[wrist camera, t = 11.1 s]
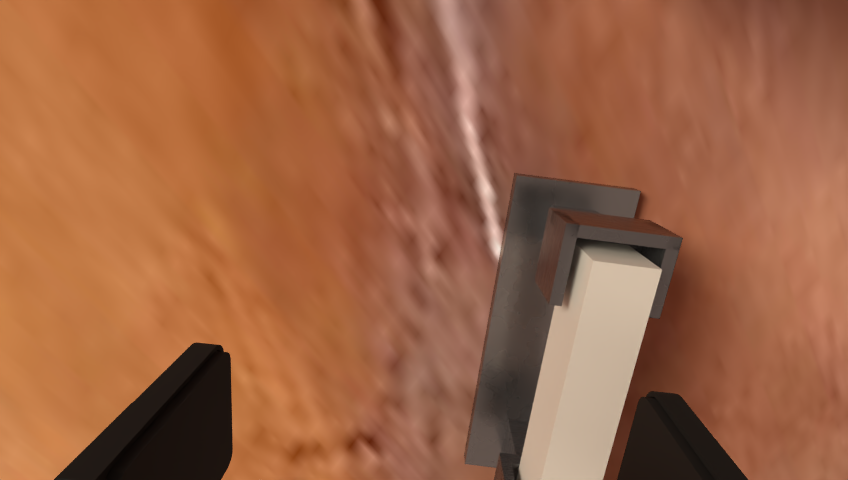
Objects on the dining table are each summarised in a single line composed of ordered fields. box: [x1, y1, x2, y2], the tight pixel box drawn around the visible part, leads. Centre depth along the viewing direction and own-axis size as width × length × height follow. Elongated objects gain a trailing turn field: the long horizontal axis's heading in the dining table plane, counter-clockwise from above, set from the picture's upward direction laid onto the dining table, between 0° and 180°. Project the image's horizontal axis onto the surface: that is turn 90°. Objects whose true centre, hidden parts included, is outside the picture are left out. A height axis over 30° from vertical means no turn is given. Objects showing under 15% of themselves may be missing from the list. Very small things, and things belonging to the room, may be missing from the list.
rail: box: [516, 238, 662, 480], centre depth 32 cm, size 22×4×5 cm, turn 173°
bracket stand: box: [464, 173, 683, 480], centre depth 37 cm, size 28×10×12 cm, turn 173°
